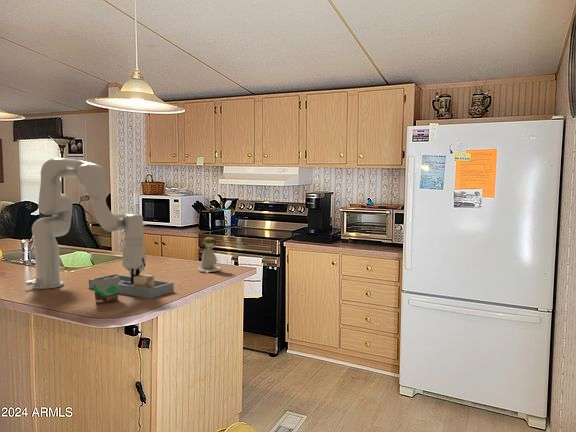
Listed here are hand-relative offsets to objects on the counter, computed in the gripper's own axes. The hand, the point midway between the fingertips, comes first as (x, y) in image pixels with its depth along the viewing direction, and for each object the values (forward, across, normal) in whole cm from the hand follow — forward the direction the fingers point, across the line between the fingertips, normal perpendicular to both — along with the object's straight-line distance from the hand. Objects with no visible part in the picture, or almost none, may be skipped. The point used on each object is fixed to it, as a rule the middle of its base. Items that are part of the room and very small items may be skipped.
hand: (135, 283), depth 197 cm
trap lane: (+3, -3, 0) cm, 4 cm away
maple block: (+1, +6, 0) cm, 6 cm away
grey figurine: (+4, 0, +52) cm, 52 cm away
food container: (+4, +6, -18) cm, 19 cm away
